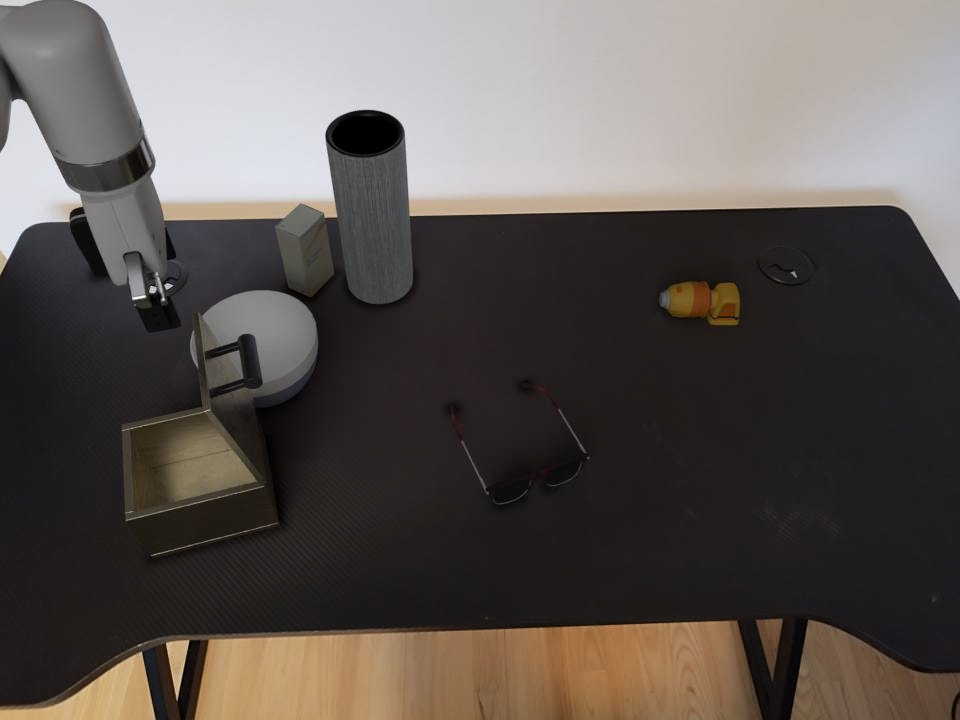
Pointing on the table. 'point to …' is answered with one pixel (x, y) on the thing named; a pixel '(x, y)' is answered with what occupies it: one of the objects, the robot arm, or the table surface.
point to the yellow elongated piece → (702, 301)
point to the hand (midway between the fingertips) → (163, 292)
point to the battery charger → (86, 241)
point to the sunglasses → (520, 484)
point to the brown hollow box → (190, 484)
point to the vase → (372, 203)
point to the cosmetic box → (305, 249)
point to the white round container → (268, 340)
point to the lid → (231, 393)
